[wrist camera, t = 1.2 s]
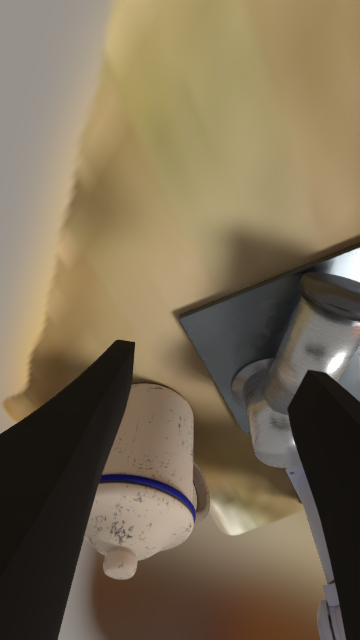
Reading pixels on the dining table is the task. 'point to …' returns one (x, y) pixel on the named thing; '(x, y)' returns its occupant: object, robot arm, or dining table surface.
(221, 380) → the metal pipe fittings plate
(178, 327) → the dining table surface
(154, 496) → the teacup with lid
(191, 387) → the dining table surface
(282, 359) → the silver pipe
